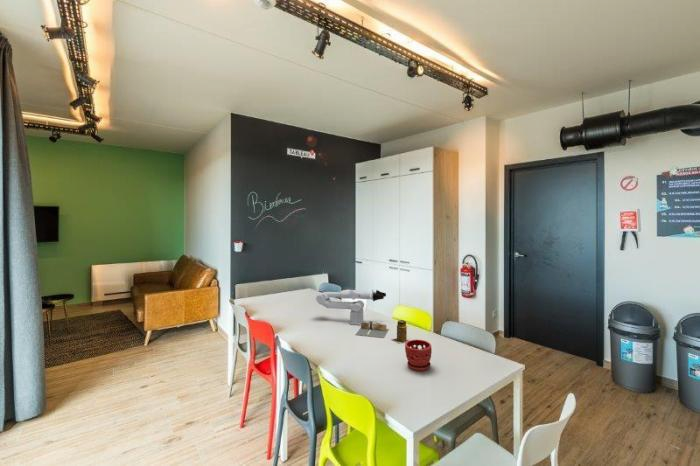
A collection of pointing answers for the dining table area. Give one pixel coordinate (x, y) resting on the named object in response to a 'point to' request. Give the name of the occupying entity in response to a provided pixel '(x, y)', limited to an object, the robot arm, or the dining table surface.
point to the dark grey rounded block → (366, 325)
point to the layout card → (372, 333)
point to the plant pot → (418, 354)
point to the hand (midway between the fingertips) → (384, 296)
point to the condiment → (401, 332)
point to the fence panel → (379, 327)
